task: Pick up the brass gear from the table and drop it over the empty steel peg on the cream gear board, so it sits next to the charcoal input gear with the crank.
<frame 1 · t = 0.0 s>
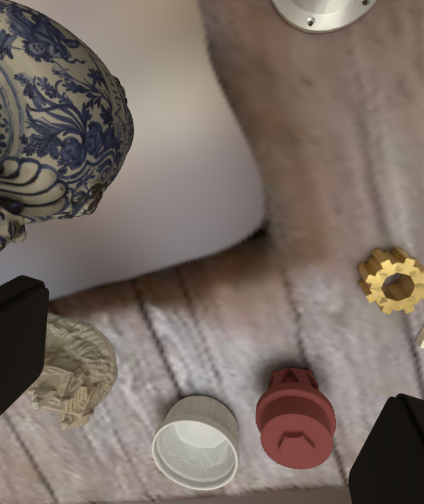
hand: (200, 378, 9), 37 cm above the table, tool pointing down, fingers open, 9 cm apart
brass gear: (386, 273, 44), on the table
ramekin: (204, 420, 57), on the table
decorative vase: (96, 126, 45), on the table
mechanical component: (292, 379, 51), on the table
ceramic cottage: (74, 356, 58), on the table
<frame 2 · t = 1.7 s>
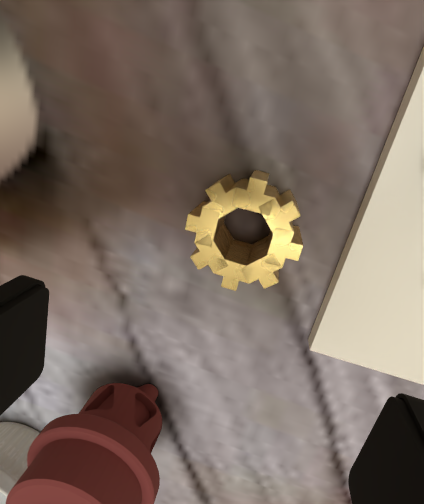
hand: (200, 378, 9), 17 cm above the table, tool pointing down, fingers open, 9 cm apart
brass gear: (248, 220, 25), on the table
ramekin: (25, 456, 38), on the table
mechanical component: (133, 400, 33), on the table
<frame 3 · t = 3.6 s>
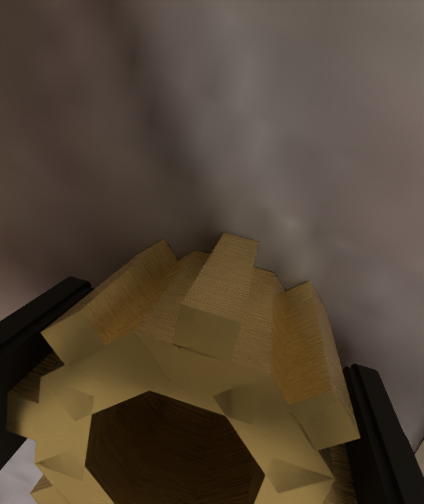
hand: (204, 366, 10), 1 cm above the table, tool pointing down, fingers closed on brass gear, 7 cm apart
brass gear: (212, 341, 11), on the table, touching gripper
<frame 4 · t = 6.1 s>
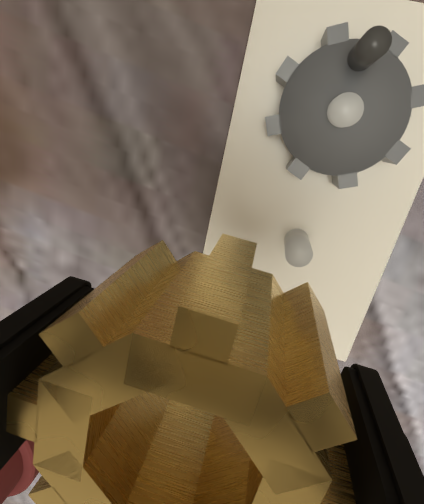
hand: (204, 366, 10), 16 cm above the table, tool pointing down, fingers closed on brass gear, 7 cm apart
brass gear: (211, 342, 11), point 15 cm above the table, touching gripper
gear board: (308, 193, 23), on the table
mechanical component: (44, 376, 33), on the table
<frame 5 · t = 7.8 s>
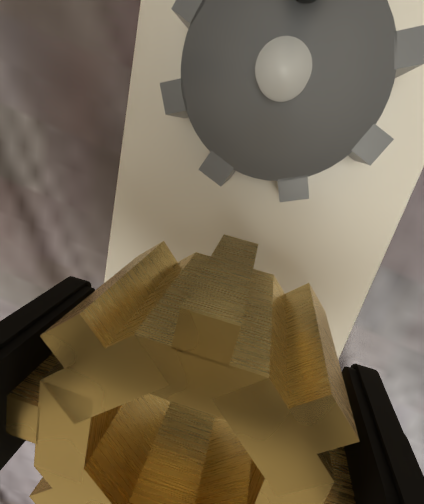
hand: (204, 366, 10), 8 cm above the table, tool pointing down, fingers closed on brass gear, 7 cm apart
brass gear: (212, 343, 11), point 7 cm above the table, touching gripper
gear board: (250, 204, 16), on the table
when the fingers open (4 cm above the table, at t = 9.1 s): brass gear drops 1 cm, resting on gear board.
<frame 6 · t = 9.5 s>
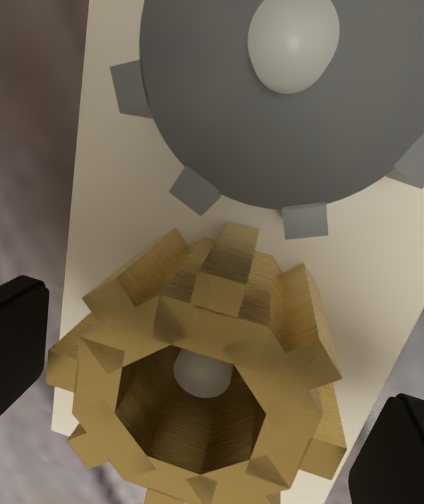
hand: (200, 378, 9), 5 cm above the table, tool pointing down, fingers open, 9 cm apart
brass gear: (218, 319, 12), point 1 cm above the table, touching gear board
gear board: (245, 230, 13), on the table
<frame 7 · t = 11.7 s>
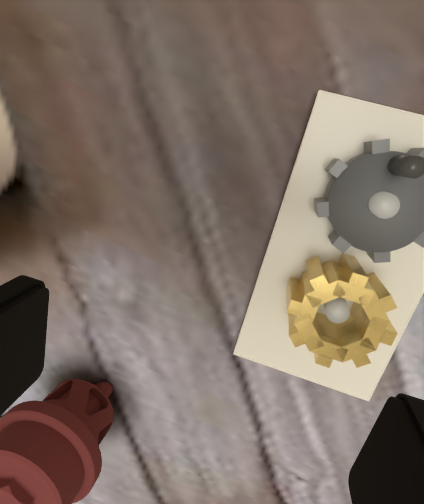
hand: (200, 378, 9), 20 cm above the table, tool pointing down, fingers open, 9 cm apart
brass gear: (332, 296, 27), point 1 cm above the table, touching gear board
gear board: (343, 256, 28), on the table
mechanical component: (92, 396, 37), on the table
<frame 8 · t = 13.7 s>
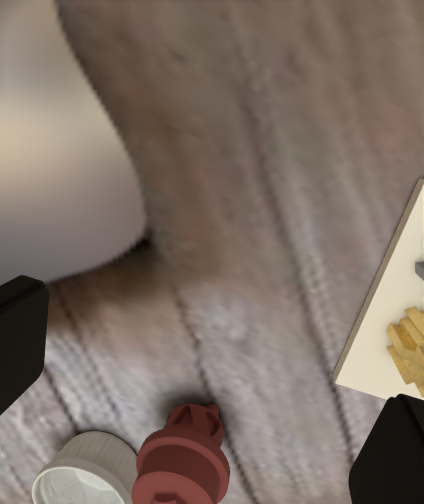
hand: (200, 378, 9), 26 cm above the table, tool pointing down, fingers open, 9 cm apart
ramekin: (106, 458, 49), on the table
mechanical component: (198, 415, 44), on the table
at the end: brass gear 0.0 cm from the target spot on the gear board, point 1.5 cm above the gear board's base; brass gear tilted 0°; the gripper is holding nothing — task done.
